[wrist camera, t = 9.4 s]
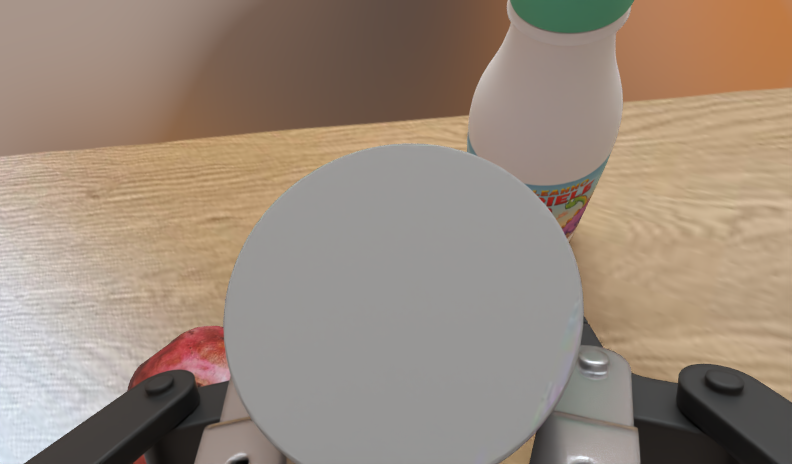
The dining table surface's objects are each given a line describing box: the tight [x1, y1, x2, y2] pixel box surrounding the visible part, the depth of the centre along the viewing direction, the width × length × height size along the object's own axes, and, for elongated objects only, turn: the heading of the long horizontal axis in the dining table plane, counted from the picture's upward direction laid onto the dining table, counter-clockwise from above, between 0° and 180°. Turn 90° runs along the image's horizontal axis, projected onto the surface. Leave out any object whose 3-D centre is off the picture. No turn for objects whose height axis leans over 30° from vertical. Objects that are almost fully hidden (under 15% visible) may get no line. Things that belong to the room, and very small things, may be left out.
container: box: [223, 144, 584, 464], centre depth 12 cm, size 5×5×15 cm
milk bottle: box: [467, 0, 634, 242], centre depth 24 cm, size 8×8×20 cm
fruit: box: [127, 326, 231, 464], centre depth 25 cm, size 9×10×10 cm
